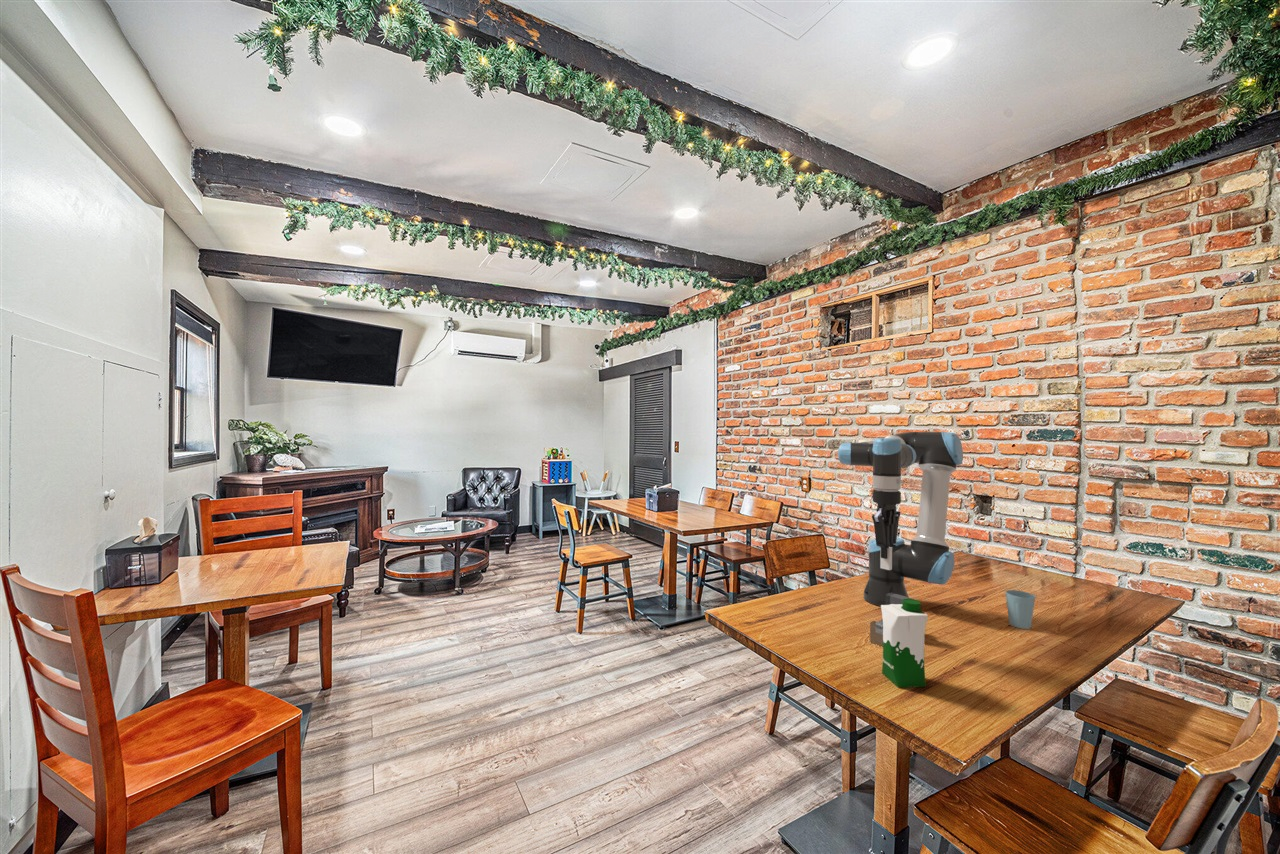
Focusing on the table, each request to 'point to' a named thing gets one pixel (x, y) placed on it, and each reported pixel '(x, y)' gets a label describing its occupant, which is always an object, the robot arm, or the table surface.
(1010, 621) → the cup
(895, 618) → the milk carton
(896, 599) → the collar
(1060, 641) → the table surface
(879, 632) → the rail
